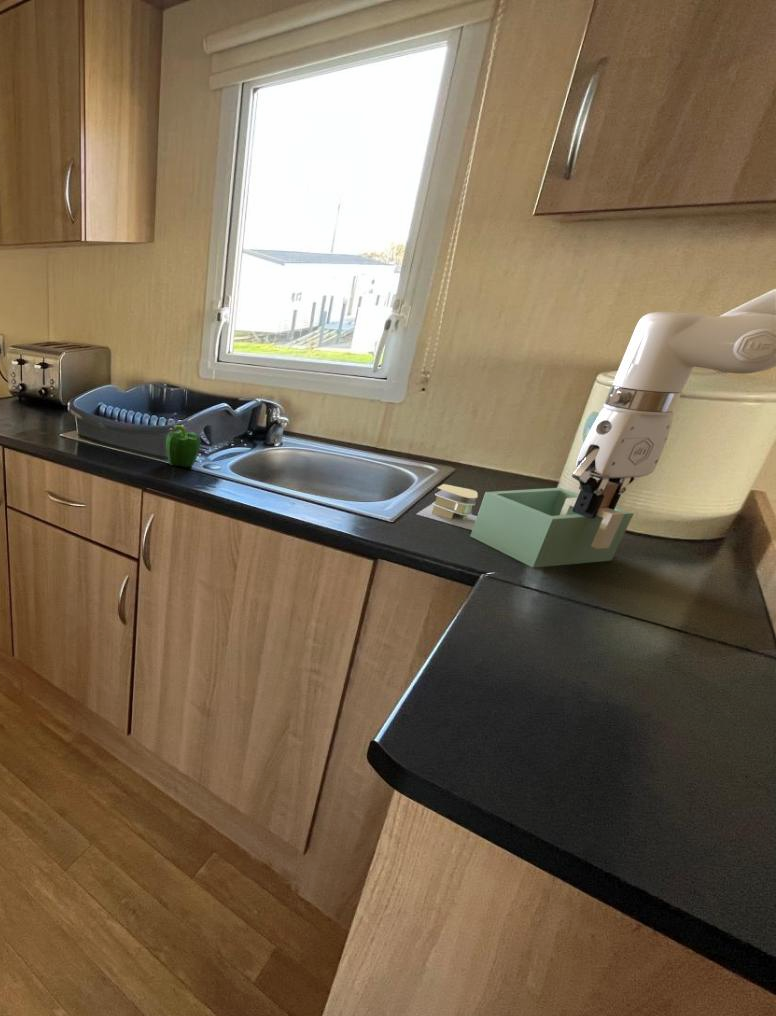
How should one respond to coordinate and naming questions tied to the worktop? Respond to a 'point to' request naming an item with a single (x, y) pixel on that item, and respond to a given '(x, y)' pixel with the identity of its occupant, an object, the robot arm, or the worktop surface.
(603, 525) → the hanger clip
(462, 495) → the stacked layers on plate
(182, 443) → the bell pepper
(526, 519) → the tote
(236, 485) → the worktop surface
